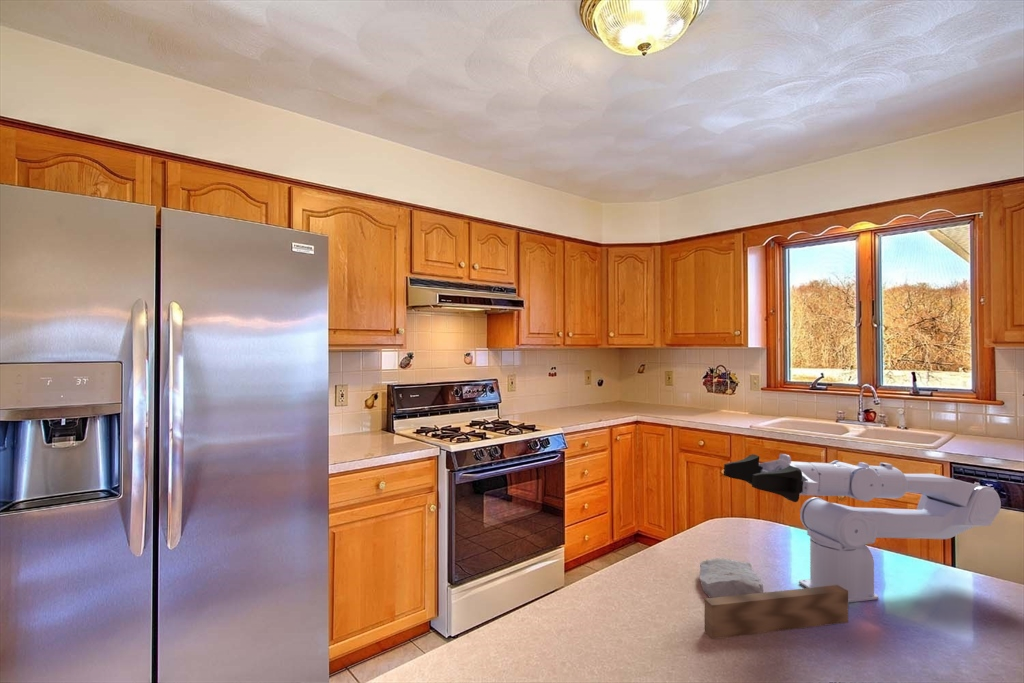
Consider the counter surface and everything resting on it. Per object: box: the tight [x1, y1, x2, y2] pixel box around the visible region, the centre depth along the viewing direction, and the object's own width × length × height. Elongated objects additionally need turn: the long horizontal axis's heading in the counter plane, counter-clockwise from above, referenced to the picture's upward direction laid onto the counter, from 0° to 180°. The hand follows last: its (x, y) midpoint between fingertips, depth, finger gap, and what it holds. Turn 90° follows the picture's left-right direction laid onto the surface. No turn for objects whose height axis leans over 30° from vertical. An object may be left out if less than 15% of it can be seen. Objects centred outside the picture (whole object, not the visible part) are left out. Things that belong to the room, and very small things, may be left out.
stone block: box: [699, 557, 764, 598], centre depth 91 cm, size 12×5×10 cm
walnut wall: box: [704, 585, 849, 640], centre depth 78 cm, size 24×2×5 cm, turn 101°
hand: (738, 475), depth 86 cm, fingers open, 7 cm apart
